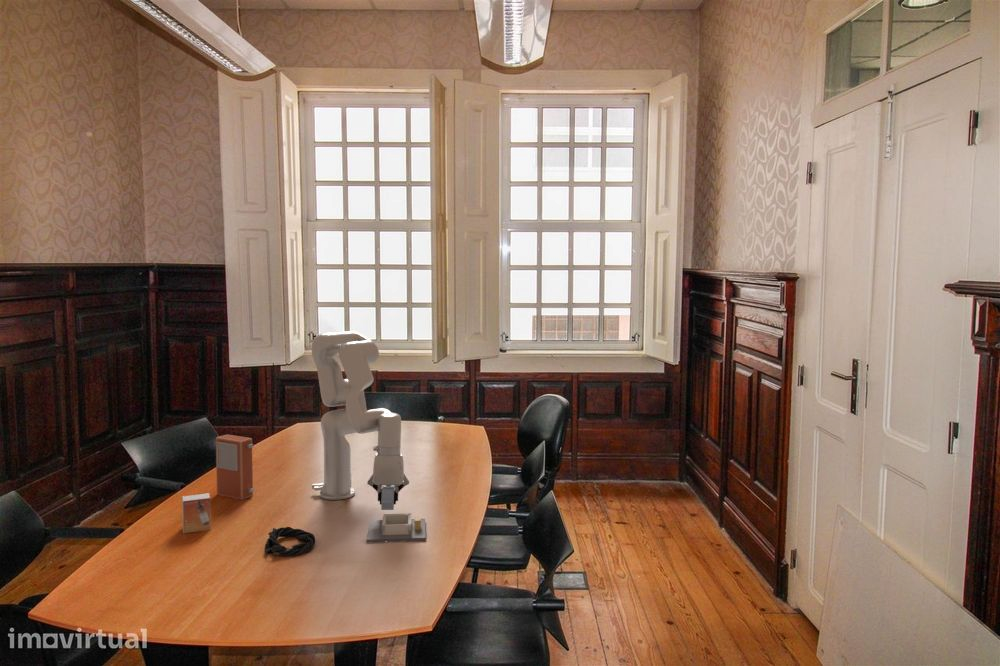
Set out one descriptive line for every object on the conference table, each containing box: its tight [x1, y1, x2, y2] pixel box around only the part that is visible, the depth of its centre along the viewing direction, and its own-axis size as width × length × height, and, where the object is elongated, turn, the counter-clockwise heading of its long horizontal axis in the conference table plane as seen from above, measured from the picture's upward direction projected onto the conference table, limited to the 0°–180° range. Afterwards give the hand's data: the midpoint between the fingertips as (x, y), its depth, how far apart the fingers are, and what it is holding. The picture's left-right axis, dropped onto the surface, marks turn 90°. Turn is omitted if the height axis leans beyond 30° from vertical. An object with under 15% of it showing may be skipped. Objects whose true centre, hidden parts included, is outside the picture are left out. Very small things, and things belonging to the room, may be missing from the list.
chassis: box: [365, 512, 427, 543], centre depth 209 cm, size 18×16×4 cm
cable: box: [264, 526, 316, 558], centre depth 197 cm, size 17×14×4 cm
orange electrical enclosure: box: [215, 434, 255, 500], centre depth 240 cm, size 21×7×15 cm
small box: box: [181, 492, 212, 534], centre depth 208 cm, size 8×6×10 cm
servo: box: [380, 485, 395, 511], centre depth 222 cm, size 4×10×7 cm, turn 7°
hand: (387, 502), depth 222 cm, fingers closed on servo, 4 cm apart
